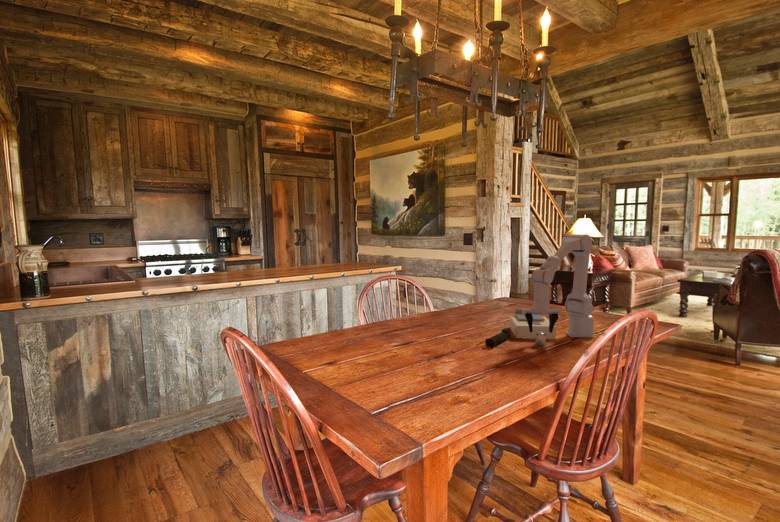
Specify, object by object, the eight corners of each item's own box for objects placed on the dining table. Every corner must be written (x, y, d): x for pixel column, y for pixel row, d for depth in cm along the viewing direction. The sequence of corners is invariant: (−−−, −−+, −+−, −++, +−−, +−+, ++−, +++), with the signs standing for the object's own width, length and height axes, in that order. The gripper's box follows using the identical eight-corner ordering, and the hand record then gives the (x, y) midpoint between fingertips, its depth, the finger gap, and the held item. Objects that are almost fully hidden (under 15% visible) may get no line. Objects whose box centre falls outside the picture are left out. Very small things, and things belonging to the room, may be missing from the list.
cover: (538, 314, 187) (538, 309, 187) (544, 320, 176) (544, 314, 176) (514, 314, 189) (514, 308, 188) (519, 320, 178) (519, 314, 177)
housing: (544, 327, 186) (545, 316, 185) (555, 339, 168) (555, 326, 168) (509, 327, 188) (509, 315, 187) (516, 338, 170) (516, 325, 170)
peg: (544, 343, 163) (544, 331, 162) (547, 346, 159) (547, 334, 159) (534, 343, 164) (534, 331, 163) (536, 346, 160) (536, 334, 159)
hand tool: (493, 349, 158) (493, 337, 157) (484, 347, 160) (484, 335, 160) (516, 338, 171) (516, 328, 171) (507, 336, 174) (507, 326, 173)
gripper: (524, 300, 156) (524, 334, 158) (563, 300, 154) (562, 335, 156) (521, 297, 163) (520, 329, 165) (558, 297, 161) (557, 330, 163)
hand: (540, 331), depth 161 cm, fingers open, 7 cm apart
